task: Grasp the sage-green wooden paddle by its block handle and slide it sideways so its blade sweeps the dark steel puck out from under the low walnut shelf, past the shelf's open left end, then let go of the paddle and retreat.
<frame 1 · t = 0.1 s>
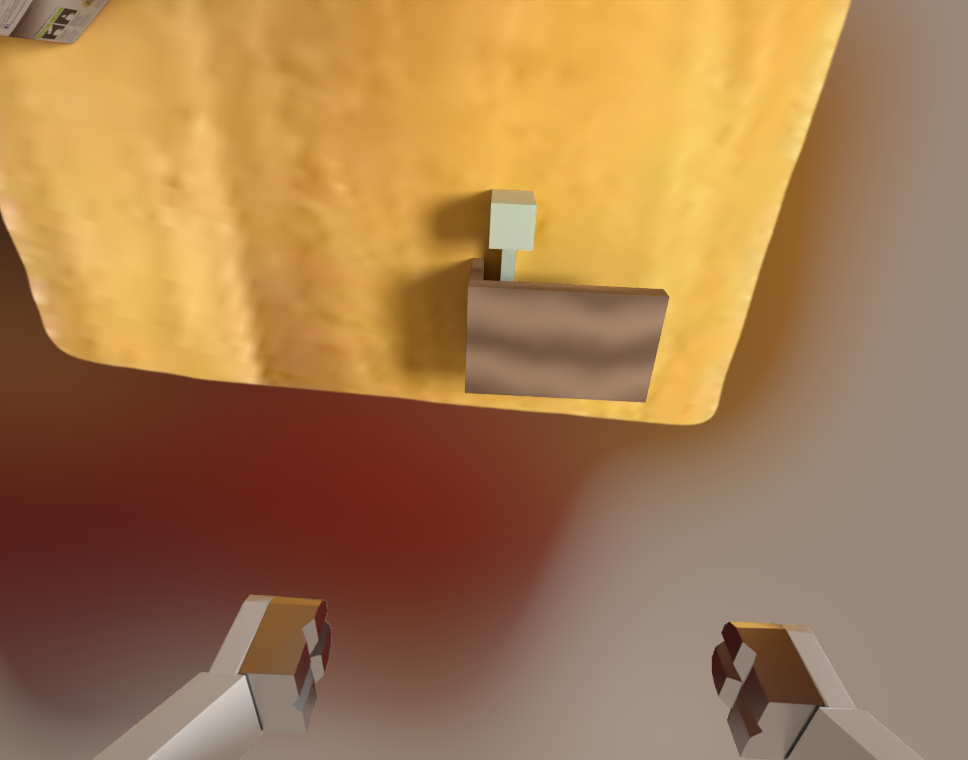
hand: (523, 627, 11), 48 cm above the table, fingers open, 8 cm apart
sage paddle: (511, 211, 53), on the table
walnut shelf: (572, 313, 58), on the table
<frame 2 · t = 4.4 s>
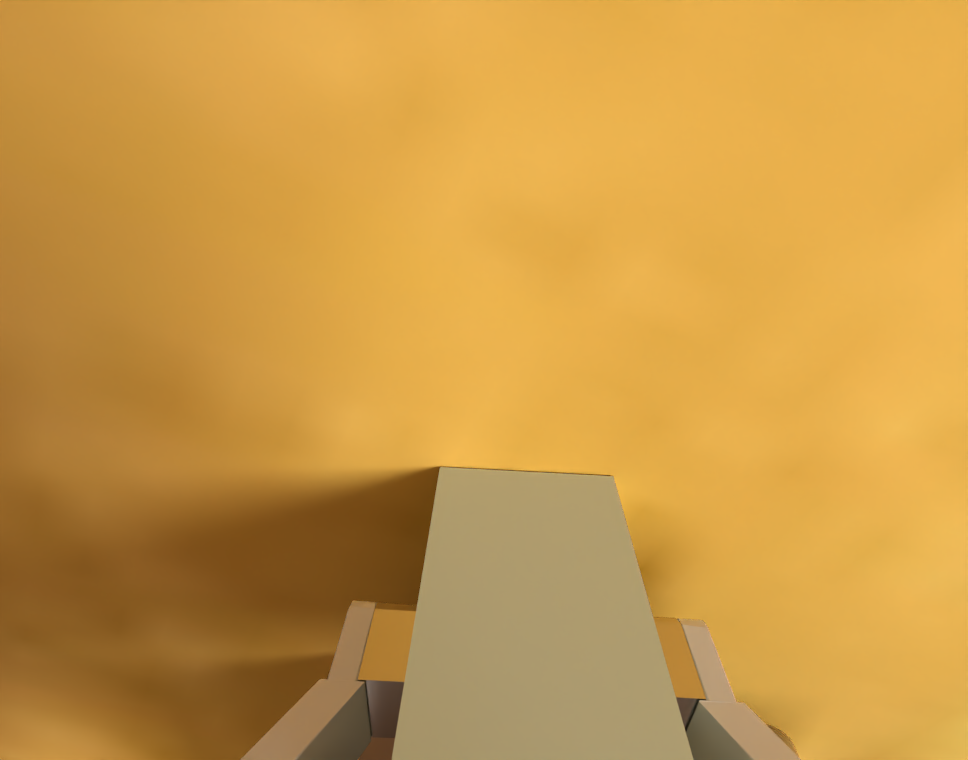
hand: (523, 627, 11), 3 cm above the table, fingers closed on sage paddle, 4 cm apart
sage paddle: (519, 534, 13), on the table, touching gripper
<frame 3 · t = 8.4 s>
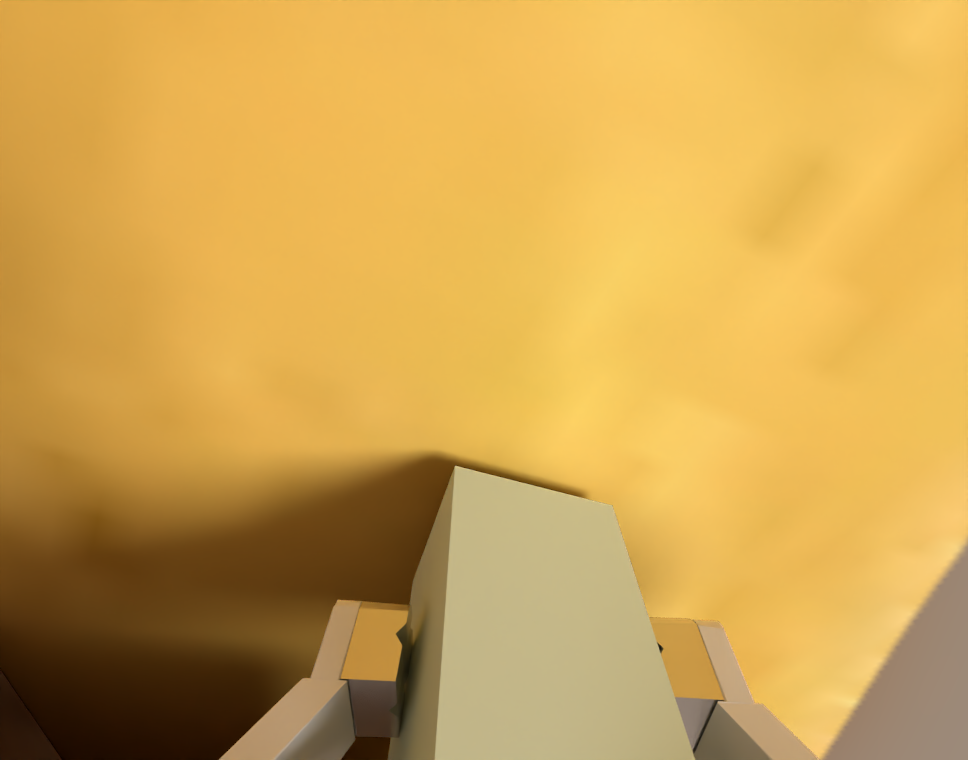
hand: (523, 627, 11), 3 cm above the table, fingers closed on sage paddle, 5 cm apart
sage paddle: (508, 545, 13), point 1 cm above the table, touching gripper, steel puck
walnut shelf: (300, 721, 19), on the table
when the fingers open (3 cm above the table, at t = 11.7 s): sage paddle stays where it is, on the table.
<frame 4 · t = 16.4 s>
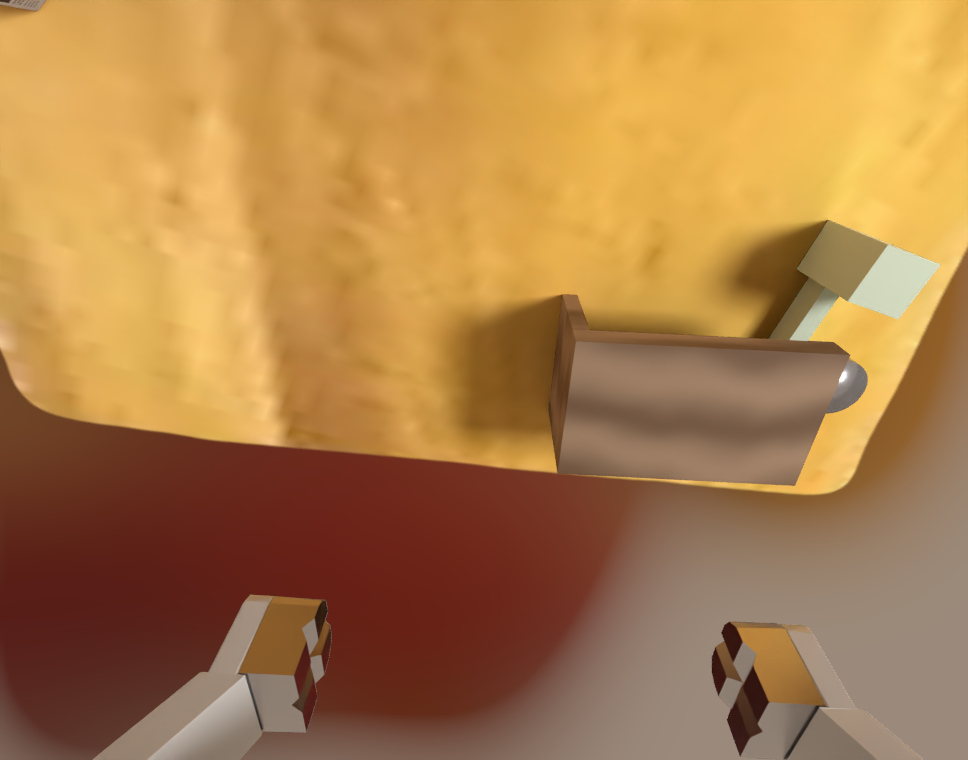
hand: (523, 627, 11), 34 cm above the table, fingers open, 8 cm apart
sage paddle: (834, 253, 41), on the table
steel puck: (822, 376, 46), on the table
walnut shelf: (684, 362, 46), on the table
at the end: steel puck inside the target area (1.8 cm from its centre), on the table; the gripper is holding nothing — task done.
